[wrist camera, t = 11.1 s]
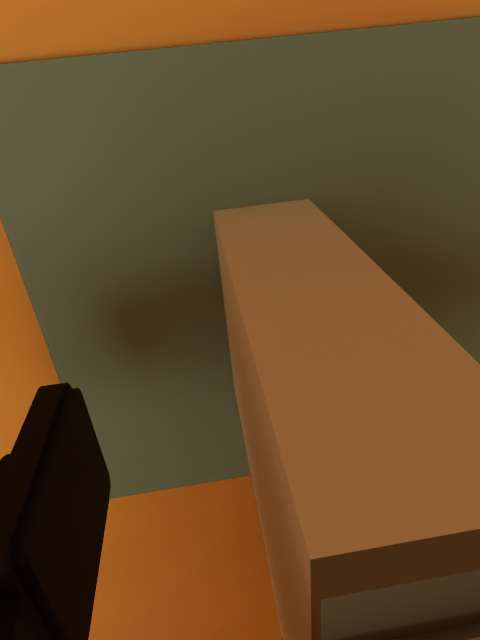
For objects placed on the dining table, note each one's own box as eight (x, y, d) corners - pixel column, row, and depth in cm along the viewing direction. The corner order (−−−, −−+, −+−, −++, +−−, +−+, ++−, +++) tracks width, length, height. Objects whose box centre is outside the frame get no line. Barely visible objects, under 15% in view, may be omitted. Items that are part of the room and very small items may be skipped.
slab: (311, 376, 15) (497, 796, 6) (234, 388, 15) (319, 835, 6) (308, 199, 12) (657, 536, 3) (213, 210, 12) (321, 600, 3)
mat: (527, 420, 18) (534, 427, 18) (105, 490, 17) (103, 499, 17) (659, -1, 11) (675, -3, 11) (-46, 69, 10) (-54, 69, 10)
